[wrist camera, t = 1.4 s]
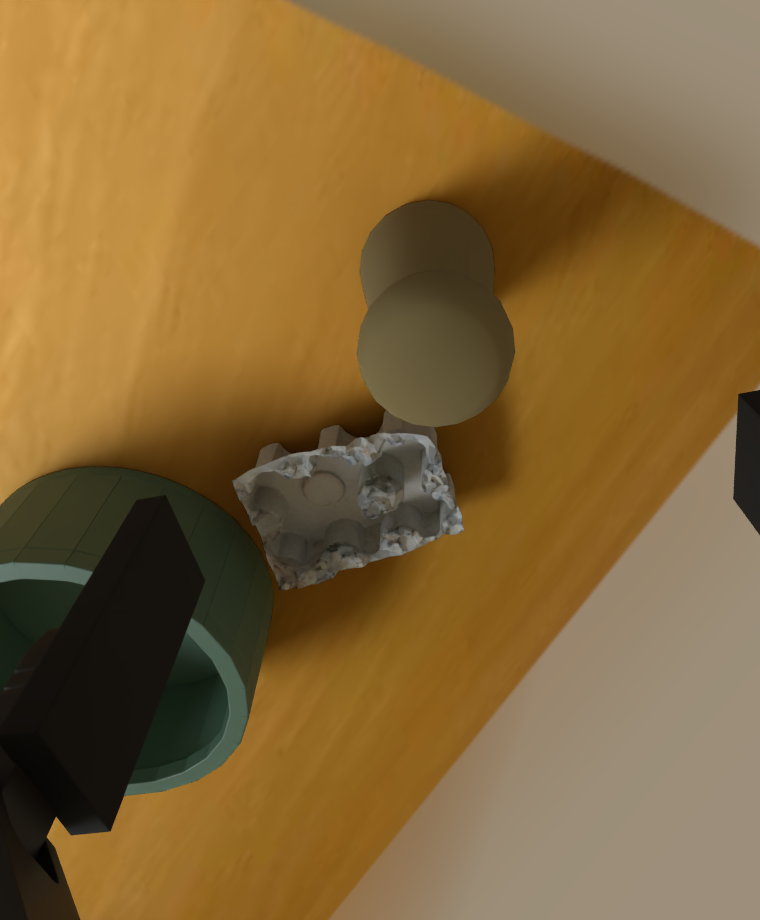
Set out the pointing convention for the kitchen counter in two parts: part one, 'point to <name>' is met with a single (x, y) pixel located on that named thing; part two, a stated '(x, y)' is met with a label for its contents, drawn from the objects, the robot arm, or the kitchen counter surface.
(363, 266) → the cork
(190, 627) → the green round bowl
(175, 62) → the kitchen counter surface
